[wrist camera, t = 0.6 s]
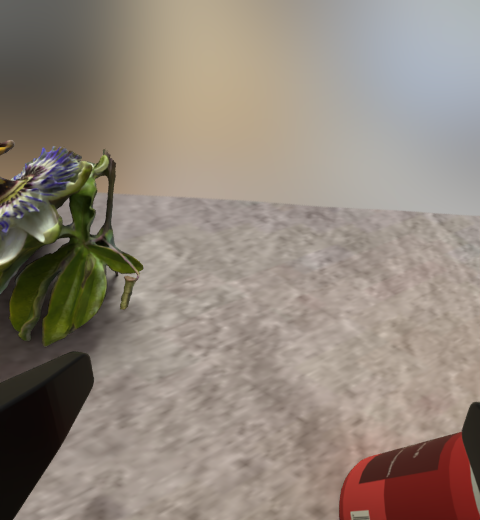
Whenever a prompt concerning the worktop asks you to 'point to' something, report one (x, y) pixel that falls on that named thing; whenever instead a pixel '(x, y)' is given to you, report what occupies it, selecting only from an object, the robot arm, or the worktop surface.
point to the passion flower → (48, 231)
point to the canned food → (413, 484)
